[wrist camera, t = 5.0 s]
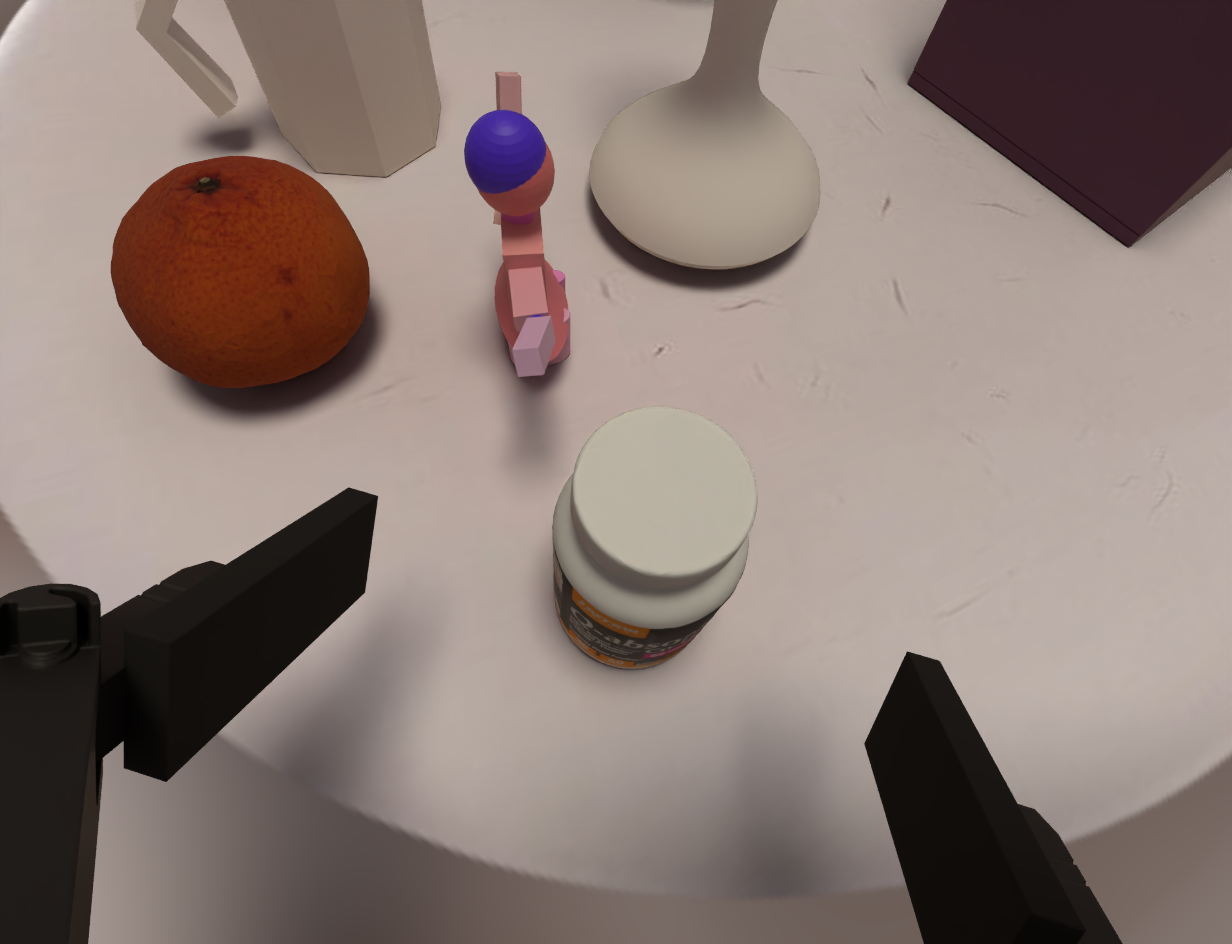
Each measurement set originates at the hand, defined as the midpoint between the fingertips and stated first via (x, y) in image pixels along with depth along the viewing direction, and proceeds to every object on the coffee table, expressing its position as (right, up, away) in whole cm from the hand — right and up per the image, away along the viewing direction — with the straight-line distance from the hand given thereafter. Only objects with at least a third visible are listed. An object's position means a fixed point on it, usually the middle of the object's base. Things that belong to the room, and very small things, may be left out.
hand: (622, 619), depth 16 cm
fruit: (-15, +10, +13) cm, 22 cm away
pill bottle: (0, -1, +9) cm, 10 cm away
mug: (-15, +21, +19) cm, 32 cm away
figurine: (-4, +9, +14) cm, 17 cm away
